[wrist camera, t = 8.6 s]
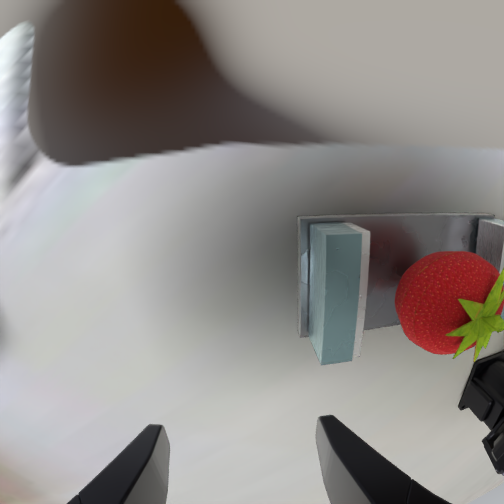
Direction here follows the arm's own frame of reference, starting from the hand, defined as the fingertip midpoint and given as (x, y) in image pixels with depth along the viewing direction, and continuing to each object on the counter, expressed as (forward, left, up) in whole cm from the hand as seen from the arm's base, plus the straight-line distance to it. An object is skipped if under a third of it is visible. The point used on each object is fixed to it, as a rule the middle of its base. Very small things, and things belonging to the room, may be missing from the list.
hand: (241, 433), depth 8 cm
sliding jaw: (-6, 0, -12) cm, 13 cm away
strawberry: (-12, 0, -12) cm, 17 cm away
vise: (-12, 0, -13) cm, 18 cm away
